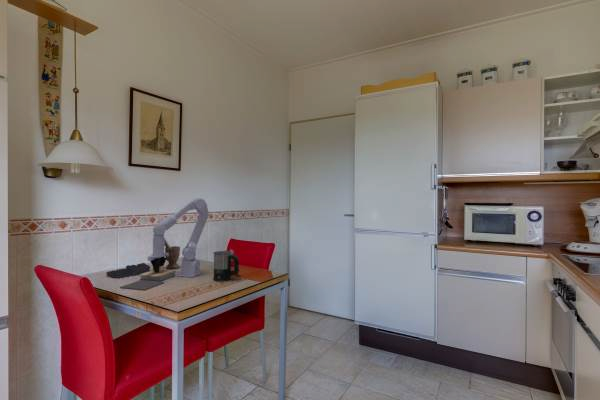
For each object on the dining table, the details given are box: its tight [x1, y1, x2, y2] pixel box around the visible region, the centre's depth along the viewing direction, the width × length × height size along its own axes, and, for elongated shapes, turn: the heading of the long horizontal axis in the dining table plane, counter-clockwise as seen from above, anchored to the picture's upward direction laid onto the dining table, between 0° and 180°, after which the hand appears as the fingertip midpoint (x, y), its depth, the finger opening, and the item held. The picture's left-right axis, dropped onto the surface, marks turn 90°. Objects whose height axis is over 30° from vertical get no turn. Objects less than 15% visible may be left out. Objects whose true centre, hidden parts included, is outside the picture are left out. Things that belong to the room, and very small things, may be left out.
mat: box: [119, 279, 165, 291], centre depth 153 cm, size 14×14×1 cm
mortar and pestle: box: [164, 238, 181, 270], centre depth 190 cm, size 12×9×20 cm
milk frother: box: [212, 250, 240, 282], centre depth 171 cm, size 14×16×15 cm
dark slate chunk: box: [106, 262, 151, 280], centre depth 176 cm, size 15×22×5 cm
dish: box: [140, 272, 176, 282], centre depth 168 cm, size 12×12×2 cm
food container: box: [229, 248, 235, 267], centre depth 200 cm, size 12×6×10 cm, turn 148°
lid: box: [138, 265, 177, 277], centre depth 168 cm, size 13×13×4 cm
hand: (158, 271), depth 168 cm, fingers closed on lid, 2 cm apart
